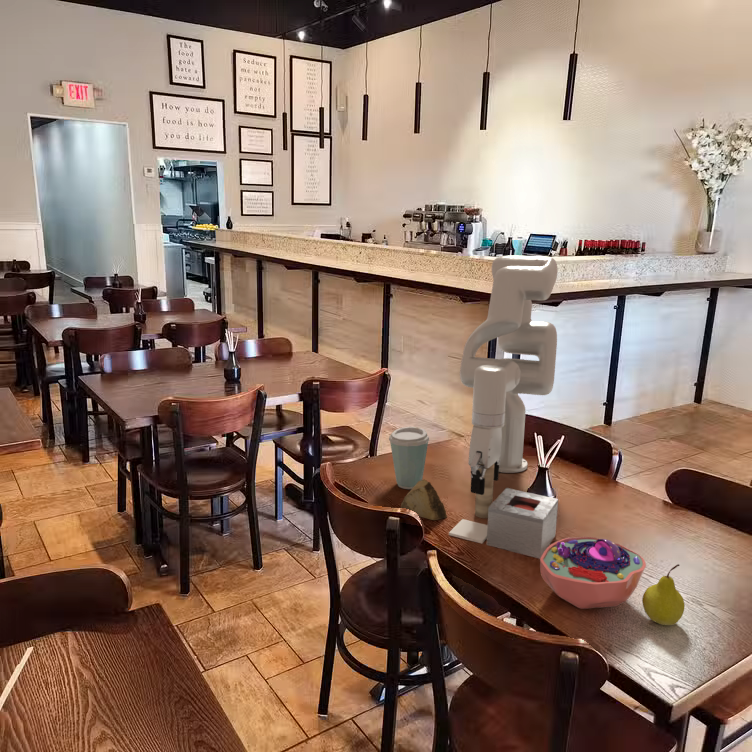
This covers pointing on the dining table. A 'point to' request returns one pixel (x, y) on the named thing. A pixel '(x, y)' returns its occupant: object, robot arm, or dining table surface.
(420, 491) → the rock
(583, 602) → the cell model
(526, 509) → the plunger
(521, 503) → the grey square box
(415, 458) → the disposable coffee cup
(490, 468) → the beige segmented cylinder
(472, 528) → the mat
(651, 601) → the fruit
